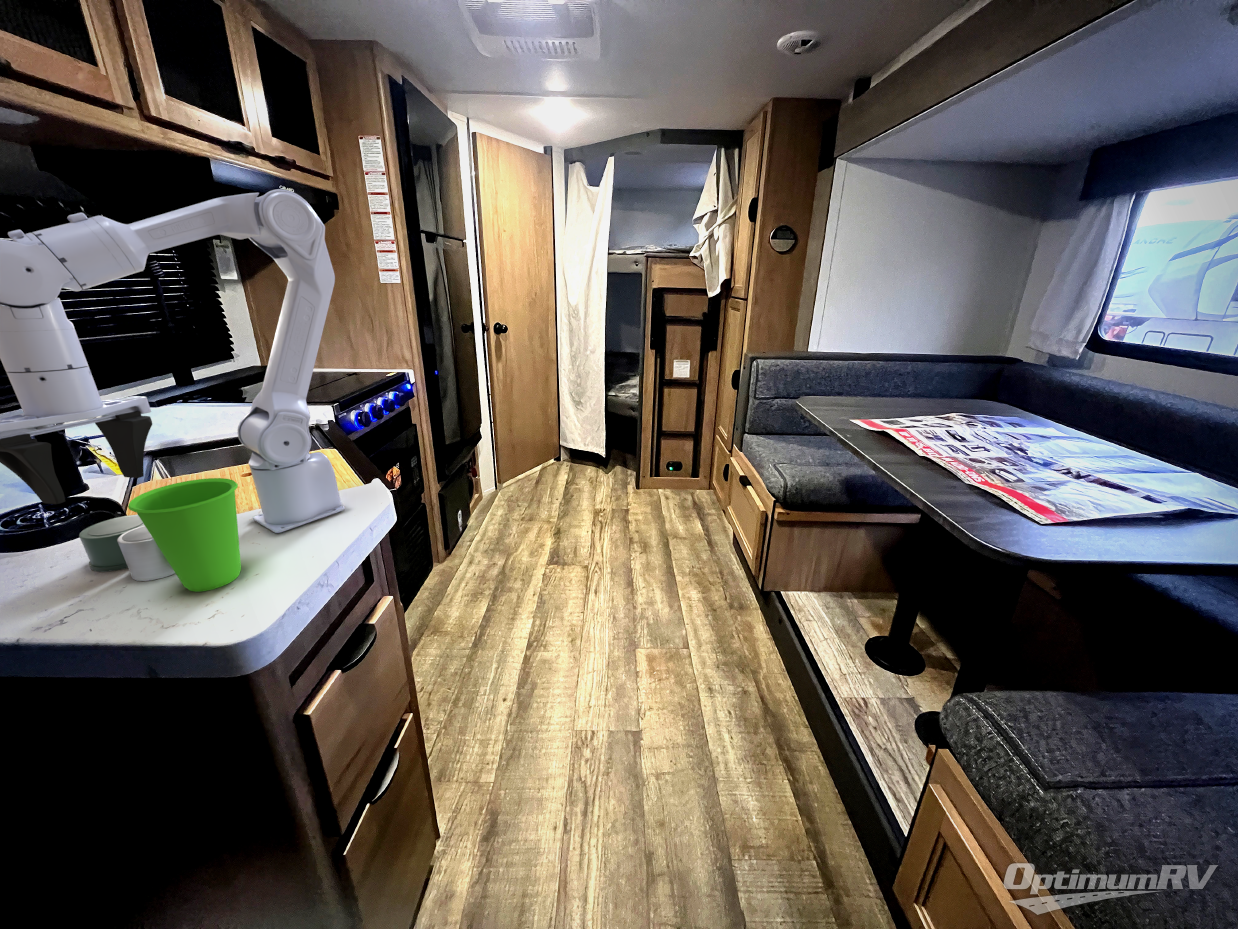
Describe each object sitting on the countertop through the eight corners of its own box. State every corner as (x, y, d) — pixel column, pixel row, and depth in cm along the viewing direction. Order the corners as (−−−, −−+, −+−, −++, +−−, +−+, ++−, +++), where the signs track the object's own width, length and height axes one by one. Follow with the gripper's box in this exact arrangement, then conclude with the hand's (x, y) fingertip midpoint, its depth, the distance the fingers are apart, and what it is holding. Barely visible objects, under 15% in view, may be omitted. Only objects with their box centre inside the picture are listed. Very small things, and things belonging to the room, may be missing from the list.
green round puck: (157, 538, 65) (146, 508, 63) (175, 553, 61) (163, 521, 60) (83, 560, 59) (70, 528, 58) (98, 578, 56) (83, 544, 54)
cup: (207, 607, 50) (174, 514, 47) (139, 597, 52) (103, 506, 48) (280, 563, 59) (257, 481, 55) (219, 555, 60) (193, 475, 57)
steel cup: (183, 552, 61) (171, 517, 59) (198, 565, 58) (186, 528, 57) (126, 571, 57) (111, 534, 55) (139, 586, 54) (124, 547, 52)
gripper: (100, 358, 57) (138, 465, 62) (-87, 378, 44) (-21, 512, 48) (148, 360, 56) (183, 468, 60) (-29, 381, 42) (34, 518, 47)
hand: (96, 488), depth 54 cm, fingers open, 7 cm apart
